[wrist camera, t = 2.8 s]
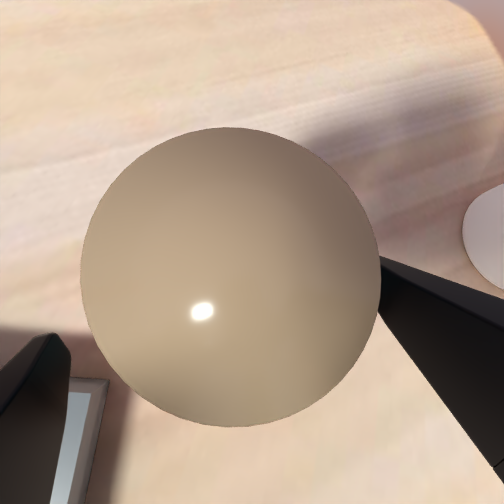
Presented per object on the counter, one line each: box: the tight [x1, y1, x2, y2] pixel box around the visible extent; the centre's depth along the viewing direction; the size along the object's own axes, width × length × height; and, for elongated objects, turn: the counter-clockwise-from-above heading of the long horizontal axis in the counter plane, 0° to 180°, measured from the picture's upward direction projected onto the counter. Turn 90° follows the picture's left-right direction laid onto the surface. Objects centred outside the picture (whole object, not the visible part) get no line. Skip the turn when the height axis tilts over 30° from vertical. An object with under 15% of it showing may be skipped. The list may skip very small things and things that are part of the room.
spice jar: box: [80, 127, 381, 427], centre depth 10 cm, size 5×5×12 cm
